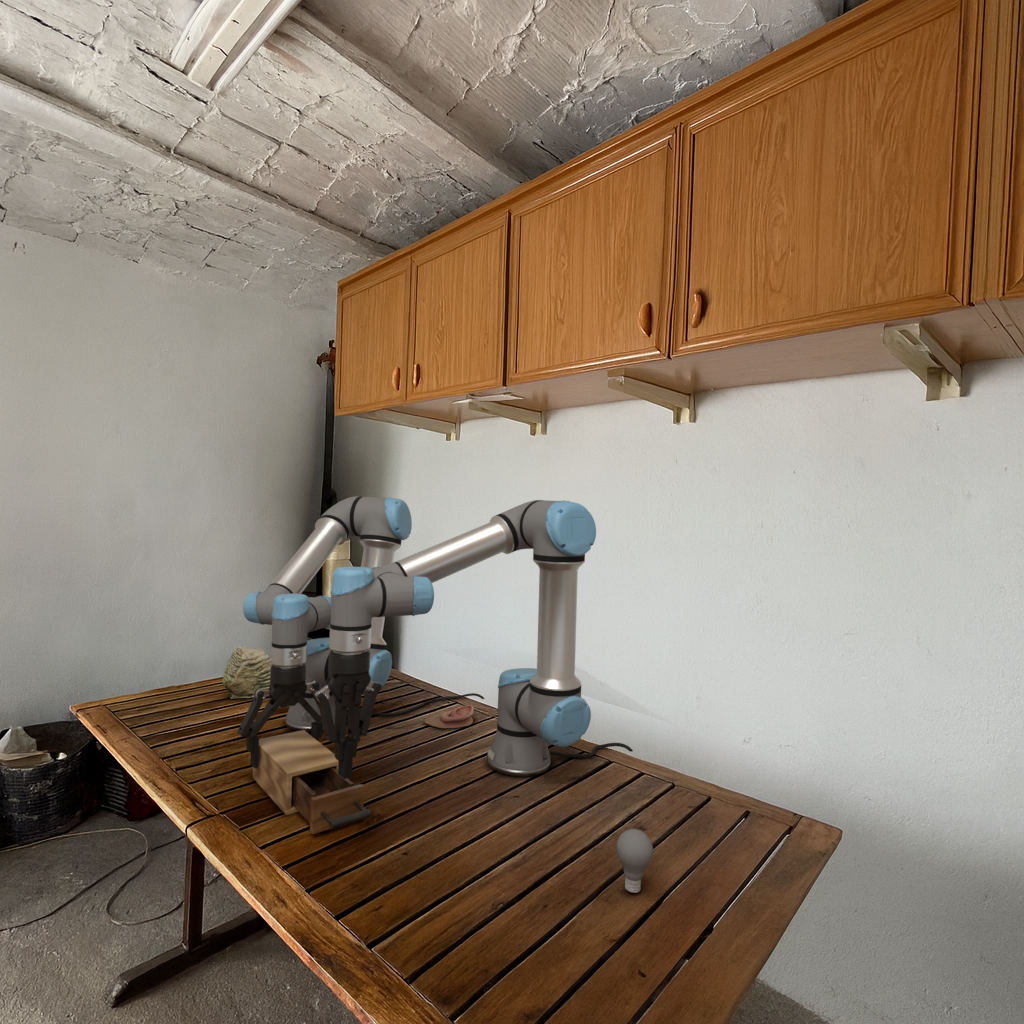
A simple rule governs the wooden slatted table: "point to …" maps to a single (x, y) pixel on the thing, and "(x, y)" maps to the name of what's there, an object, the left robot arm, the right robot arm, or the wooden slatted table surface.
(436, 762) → the wooden slatted table surface
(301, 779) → the drawer
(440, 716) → the anatomical model
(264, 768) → the cabinet
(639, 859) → the light bulb
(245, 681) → the fossil
